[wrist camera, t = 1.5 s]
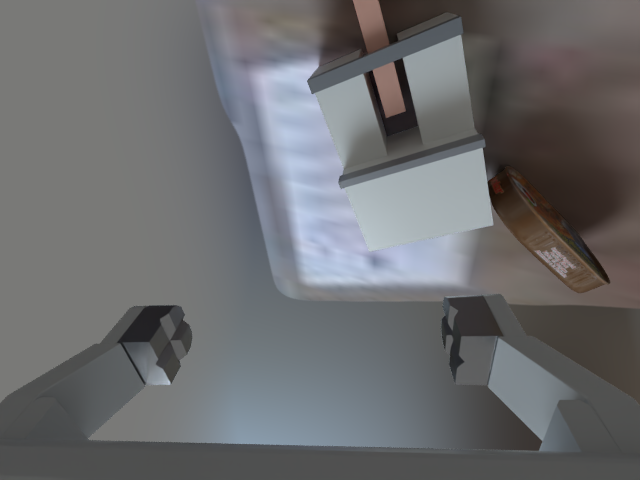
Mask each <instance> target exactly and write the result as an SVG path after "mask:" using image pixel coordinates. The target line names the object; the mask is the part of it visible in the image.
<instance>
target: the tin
mask: <svg viewBox="0 0 640 480" xmlns="http://www.w3.org/2000/svg"><path fill="white" fill-rule="evenodd" d="M487 183H488V191H489V196H490V198H491V202H492V205H493V207H494V209H495V211H496V213H497V214H498V216H499V217H500V219H501V220H502V221H503V223H504V224H505V226H506V227H507V228H508V229H509V230H510V232H511V233H512V234H513V235H514V236H515V237H516V238H517V240H518V241H519V242H520V243H521V244H522V245H523V246H525V247H526V248H527V249H528V250H529V251H530V252H531V253H532V254H533V255H534V256H535V257H536V258H537V259H538V260H539V261H540V262H541V263H542V264H544V265H545V266H546V267H547V268H548V269H549V270H550V271H551V272H552V273H553V274H554V275H556V276H557V277H558V278H559V279H560V280H561V281H562V282H563V283H564V284H565V285H567V286H568V287H569V288H570V289H571V290H573V291H575V292H577V293H584V292H587V291H590V290H592V289H595V288H597V287H600V286H602V285H605V284H610V280H609V278H608V276H607V274H606V272H605V270H604V269H603V267H602V266H601V264H600V263H599V261H598V260H597V259H596V257H595V256H594V255H593V253H592V252H591V251H590V249H589V248H588V246H587V245H586V244H585V242H584V241H583V240H582V238H581V237H580V236H579V235H578V234H577V232H576V231H575V230H574V229H573V228H572V227H571V226H570V225H569V224H568V222H567V221H566V220H565V219H564V218H563V217H562V216H561V215H560V214H559V213H558V212H557V211H556V210H555V209H554V208H553V207H552V206H551V205H550V204H549V203H548V202H547V201H546V200H545V198H544V197H543V196H542V195H541V194H540V193H539V192H538V191H537V190H536V189H535V188H534V187H533V186H532V185H531V184H530V183H529V182H528V181H527V180H526V179H525V178H524V177H523V176H522V175H521V174H520V173H519V172H518V171H516V170H515V169H514V168H512V167H510V166H507V167H506V168H505V169H504V170H503V171H502V172H500V173H499V174H497V175H496V176H495V177H493V178H492V179H490V180H489V181H488V182H487Z"/></svg>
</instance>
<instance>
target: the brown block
mask: <svg viewBox="0 0 640 480" xmlns="http://www.w3.org/2000/svg"><path fill="white" fill-rule="evenodd" d="M353 3H354V6H355V10H356V13H357V17H358V20H359V24H360V27H361V31H362V34H363V38H364V41H365V45H366V49H367V52H368V53H371V52H373V51H375V50H378V49H380V48H382V47H385V46H387V45H390V43H389V39H388V35H387V31H386V27H385V23H384V19H383V15H382V11H381V7H380V3H379V0H353ZM373 73H374V77H375V80H376V84H377V87H378V91H379V95H380V98H381V102H382V105H383V109H384V112H385V116H386V118H388V117H391V116H394V115H397V114H400V113H402V112H405V111H406V110H405V105H404V100H403V95H402V91H401V87H400V83H399V79H398V75H397V71H396V67H395V63H394V62H391V63H389V64H386V65H384V66H381V67H379V68H376V69H374V70H373Z"/></svg>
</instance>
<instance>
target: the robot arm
mask: <svg viewBox="0 0 640 480" xmlns="http://www.w3.org/2000/svg"><path fill="white" fill-rule="evenodd" d="M443 310H444V313H445V316H444V317H443V318H442V320H441V333H442V340H443V345H444V349H445V351H446V352H447V353H448V354H449V355H450V359H449V366H450V369H451V372H452V376H453V379H454V382H455V384H460V385H488V387H489V388H490V389H491V390H492V391H493V392H494V393H495V394H496V395H497V396H498V397H499V398H500V399H501V400H502V401H503V402H504V403H505V404H506V405H507V406H508V407H509V408H510V409H511V410H512V411H513V412H514V413H515V414H516V415H517V416H518V417H519V418H520V419H521V420H522V421H523V422H524V423H525V424H526V425H527V426H528V427H529V428H530V429H531V430H532V431H533V432H534V433H535V434H536V435H537V436H538V437H539V438H540V439H541V440H542V441H543V442H542V444H541V447H540V450H539V451H515V450H473V449H433V448H390V447H387V448H386V447H345V446H300V445H299V446H298V445H260V444H258V445H257V444H221V443H180V442H179V443H178V442H138V441H96V440H89V439H88V438H89V437H90V436H91V435H92V434H93V433H94V432H95V431H96V430H98V429H99V428H100V427H101V426H102V425H103V424H104V423H105V422H106V421H107V420H109V418H111V417H112V416H113V415H114V414H115V413H116V412H118V411H119V410H120V409H121V408H122V407H123V406H124V405H125V404H126V403H128V402H129V401H130V400H131V399H132V398H133V397H134V396H135V395H136V394H138V393H139V392H140V391H141V390H142V389H143V388H144V387H145V385H166V384H172V382H173V380H174V378H175V376H176V374H177V372H178V370H179V369H180V367H181V365H180V361H179V360H180V359H182V358H183V357H184V356H186V355H187V353H188V351H189V349H190V347H191V343H192V331H191V329H190V326H189V324H187V323H186V322H185V321H183V318H184V316H185V314H184V312H183V310H182V308H181V307H180V306H177V305H166V306H164V305H157V306H134V307H131V308H130V309H129V310H128V311H127V312H126V314H124V316H123V317H122V318H121V319H120V320H119V321H118V323H117V324H116V325H115V326H114V327H113V329H112V330H111V331H110V332H109V333H108V335H107V336H106V337H105V338H104V339H103V340H102V342H101V343H100V344H94V345H92V346H91V347H89V348H87V349H85V350H84V351H82V352H80V353H79V354H77V355H75V356H74V357H72V358H70V359H69V360H67V361H65V362H63V363H62V364H60V365H58V366H57V367H55V368H53V369H52V370H50V371H48V372H47V373H45V374H43V375H42V376H40V377H38V378H36V379H35V380H33V381H32V382H30V383H28V384H26V385H24V386H23V387H21V388H20V389H18V390H16V391H14V392H13V393H11V394H9V395H8V396H7V397H6V398H5V399H4V400H3V401H2V402H1V403H0V480H640V405H639V404H638V403H637V402H636V401H635V399H633V398H632V397H630V396H629V395H627V394H625V393H624V392H622V391H621V390H619V389H617V388H616V387H614V386H613V385H611V384H609V383H608V382H606V381H604V380H603V379H601V378H600V377H598V376H596V375H595V374H593V373H592V372H590V371H588V370H587V369H585V368H583V367H582V366H580V365H578V364H577V363H575V362H574V361H572V360H571V359H569V358H567V357H566V356H564V355H563V354H561V353H559V352H558V351H556V350H554V349H553V348H551V347H550V346H548V345H546V344H545V343H543V342H542V341H540V340H538V339H537V338H535V337H534V336H527V335H526V334H525V332H524V330H523V329H522V327H521V326H520V324H519V322H518V320H517V319H516V317H515V315H514V314H513V312H512V310H511V309H510V307H509V305H508V304H507V302H506V300H505V299H504V297H503V296H502V295H501V294H487V295H473V296H448V297H444V300H443Z"/></svg>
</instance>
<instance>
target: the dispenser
mask: <svg viewBox="0 0 640 480" xmlns="http://www.w3.org/2000/svg"><path fill="white" fill-rule="evenodd" d="M461 34H463V27H462V20H461V16H458V15H455V14H452V13H449V12H446V13H444V14H441V15H439V16H437V17H434V18H432V19H430V20H427V21H425V22H423V23H420V24H418V25H416V26H413V27H411V28H409V29H406V30H404V31H402V32H399V33H397V38H398V41H397V42H394V43H392V44H390V45H387V46H385V47H382V48H380V49H378V50H375V51H373V52H371V53H368V54H366V55H363V52H362V49H360V50H357V51H355V52H353V53H350V54H348V55H346V56H343V57H341V58H339V59H336V60H334V61H332V62H329V63H327V64H325V65H322V66H320V67H318V68H317V70H316V71H315V72H314V73H313V74H312V76H311V77H310V78H309V79H308V80H307V82H308V85H309V87H310V90H311V93H312V94H314V93H315V95H316V97H317V100H318V102H319V105H320V108H321V110H322V113H323V116H324V118H325V121H326V124H327V126H328V129H329V131H330V134H331V137H332V139H333V142H334V145H335V147H336V150H337V153H338V155H339V158H340V160H341V163H342V166H343V168H344V171H343V175H341V176H340V178H339V182H338V183H339V185H340V188H341V189H342V188H345V190H346V193H347V196H348V198H349V201H350V203H351V206H352V208H353V211H354V213H355V216H356V219H357V221H358V224H359V226H360V229H361V231H362V234H363V237H364V239H365V242H366V244H367V247H368V249H369V252H371V251H376V250H381V249H385V248H390V247H395V246H399V245H404V244H408V243H413V242H418V241H422V240H427V239H431V238H436V237H441V236H445V235H450V234H455V233H459V232H464V231H468V230H473V229H478V228H482V227H487V226H491V225H493V220H492V212H491V205H490V198H489V191H488V183H487V176H486V169H485V162H484V154H483V147H486V146H485V139H484V137H483V136H482V135H481V133H480V134H478V133H477V131H476V130H475V127H474V120H473V113H472V106H471V99H470V93H469V86H468V79H467V72H466V65H465V58H464V52H463V45H462V38H461ZM401 58H402V59H403V64H404V68H405V72H406V76H407V81H408V85H409V89H410V93H411V98H412V102H413V106H414V110H415V115H416V119H417V123H418V126H417V127H414V128H411V129H408V130H405V131H402V132H399V133H396V134H393V135H390V136H387V135H386V131H385V128H384V125H383V121H382V118H381V114H380V111H379V107H378V104H377V100H376V97H375V93H374V90H373V87H372V83H371V80H370V76H369V73H368V72H369V71H371V70H374V69H376V68H379V67H381V66H384V65H386V64H389V63H391V62H394V61H396V60H399V59H401Z"/></svg>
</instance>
